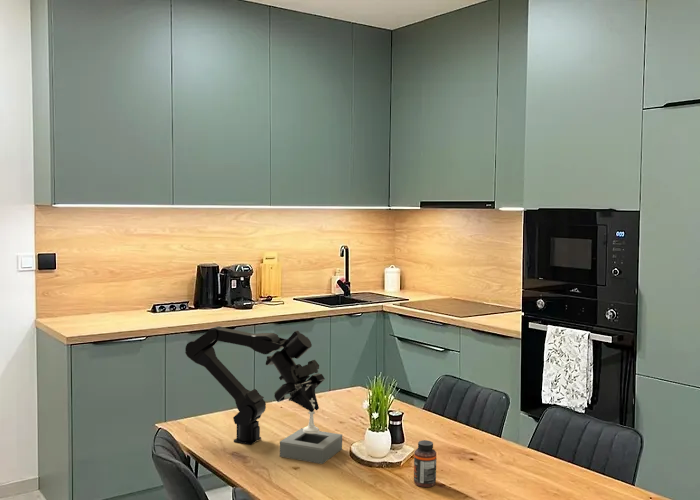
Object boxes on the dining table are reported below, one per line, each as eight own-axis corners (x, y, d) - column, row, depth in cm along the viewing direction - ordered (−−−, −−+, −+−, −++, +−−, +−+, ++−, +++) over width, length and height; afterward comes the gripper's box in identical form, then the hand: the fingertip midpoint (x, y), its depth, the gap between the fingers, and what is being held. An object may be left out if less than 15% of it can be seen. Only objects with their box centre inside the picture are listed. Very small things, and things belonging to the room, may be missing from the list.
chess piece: (319, 433, 207) (320, 400, 206) (303, 433, 206) (304, 400, 206) (318, 428, 211) (319, 396, 211) (302, 428, 211) (303, 396, 210)
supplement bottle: (411, 479, 190) (412, 438, 189) (433, 479, 190) (434, 438, 190) (415, 488, 184) (416, 446, 183) (437, 487, 184) (438, 445, 184)
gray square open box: (279, 456, 206) (279, 441, 205) (301, 442, 219) (301, 428, 218) (322, 464, 200) (322, 448, 200) (342, 449, 213) (342, 434, 213)
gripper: (283, 357, 202) (312, 401, 196) (320, 347, 217) (349, 388, 212) (261, 379, 207) (290, 423, 201) (300, 368, 222) (327, 409, 217)
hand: (315, 410), depth 208 cm, fingers closed on chess piece
